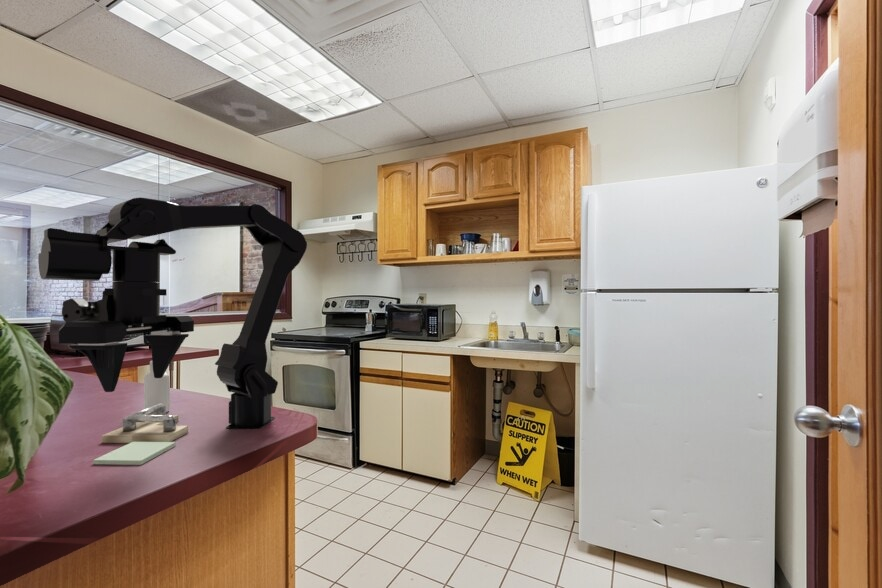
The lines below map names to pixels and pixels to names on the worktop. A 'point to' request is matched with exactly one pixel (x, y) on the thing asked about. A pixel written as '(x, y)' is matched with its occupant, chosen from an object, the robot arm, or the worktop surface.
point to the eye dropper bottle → (156, 390)
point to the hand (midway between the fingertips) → (135, 384)
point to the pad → (135, 453)
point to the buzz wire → (147, 427)
